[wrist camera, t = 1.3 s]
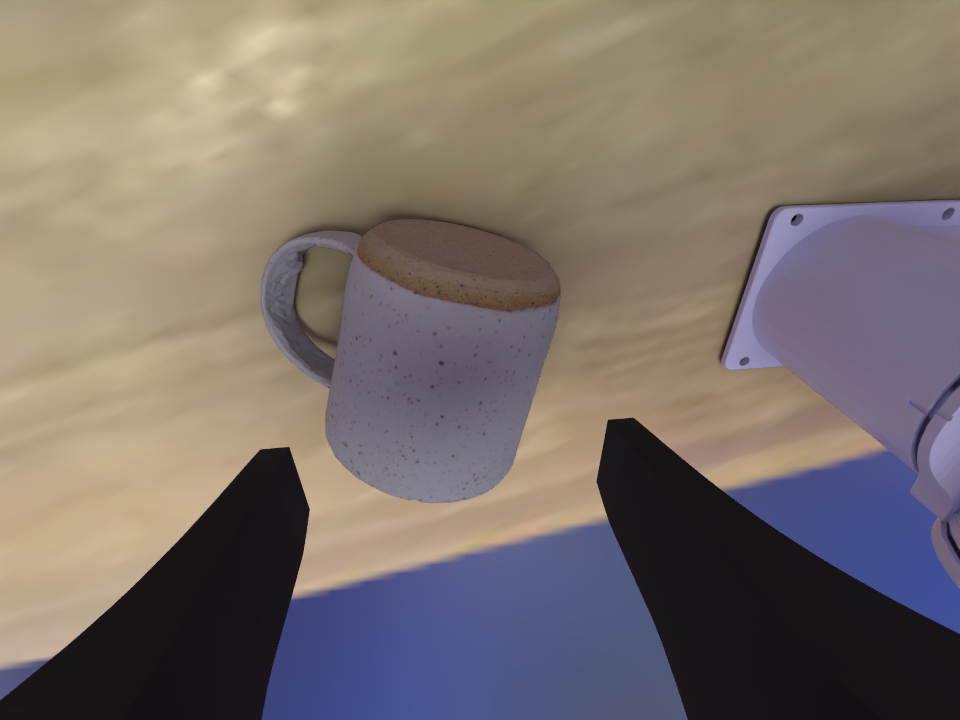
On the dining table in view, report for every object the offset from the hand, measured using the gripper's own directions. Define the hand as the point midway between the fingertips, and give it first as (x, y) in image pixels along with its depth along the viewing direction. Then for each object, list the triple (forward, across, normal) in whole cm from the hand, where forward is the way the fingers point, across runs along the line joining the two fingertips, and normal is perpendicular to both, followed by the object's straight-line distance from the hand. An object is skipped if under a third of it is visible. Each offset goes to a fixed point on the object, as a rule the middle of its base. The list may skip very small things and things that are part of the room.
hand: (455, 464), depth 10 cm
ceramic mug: (+11, +2, +1) cm, 11 cm away
